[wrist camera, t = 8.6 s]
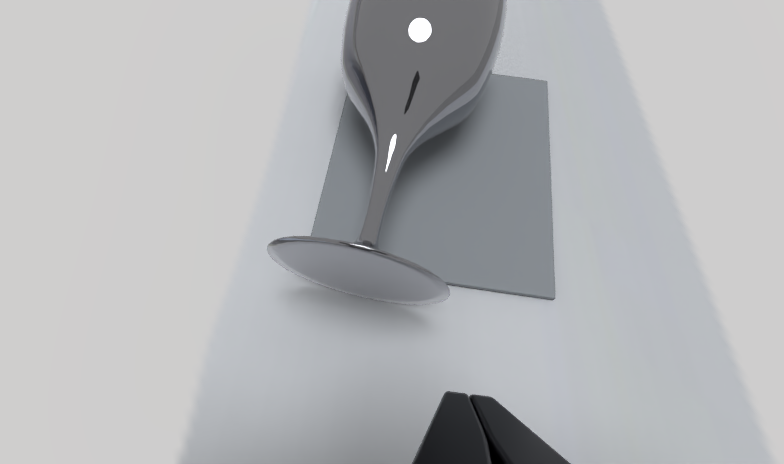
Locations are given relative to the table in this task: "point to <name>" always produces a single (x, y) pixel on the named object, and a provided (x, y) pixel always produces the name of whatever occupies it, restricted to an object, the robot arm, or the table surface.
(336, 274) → the wine glass
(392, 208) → the placemat
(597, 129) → the table surface
